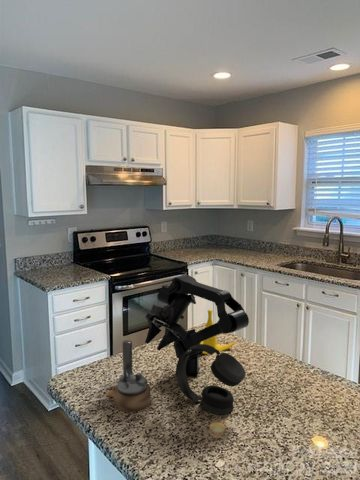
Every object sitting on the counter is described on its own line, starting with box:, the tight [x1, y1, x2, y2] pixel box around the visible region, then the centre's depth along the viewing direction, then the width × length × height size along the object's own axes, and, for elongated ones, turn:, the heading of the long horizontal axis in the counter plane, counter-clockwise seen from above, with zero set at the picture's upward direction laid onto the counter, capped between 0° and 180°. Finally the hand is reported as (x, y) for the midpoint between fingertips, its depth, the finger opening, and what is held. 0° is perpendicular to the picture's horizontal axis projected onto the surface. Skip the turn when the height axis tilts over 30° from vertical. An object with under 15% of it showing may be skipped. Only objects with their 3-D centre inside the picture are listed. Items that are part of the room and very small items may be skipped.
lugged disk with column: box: [117, 339, 148, 396], centre depth 114 cm, size 14×9×15 cm, turn 18°
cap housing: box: [106, 383, 152, 413], centre depth 113 cm, size 15×11×4 cm
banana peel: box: [200, 309, 236, 355], centre depth 154 cm, size 17×19×17 cm
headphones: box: [175, 344, 246, 415], centre depth 110 cm, size 18×8×20 cm
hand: (151, 346), depth 124 cm, fingers open, 7 cm apart
